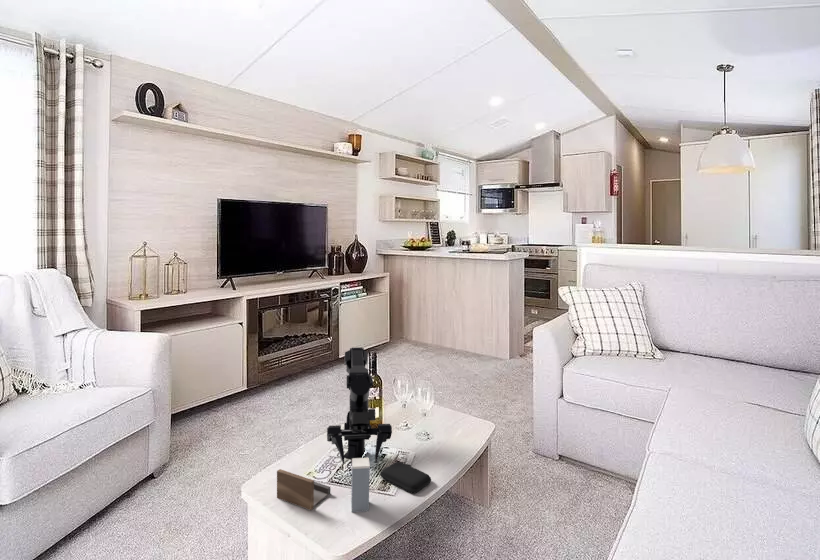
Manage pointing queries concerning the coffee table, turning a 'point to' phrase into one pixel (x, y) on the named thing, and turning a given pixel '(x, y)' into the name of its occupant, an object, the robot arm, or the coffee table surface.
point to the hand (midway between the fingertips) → (359, 462)
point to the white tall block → (360, 484)
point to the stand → (300, 490)
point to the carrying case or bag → (405, 477)
